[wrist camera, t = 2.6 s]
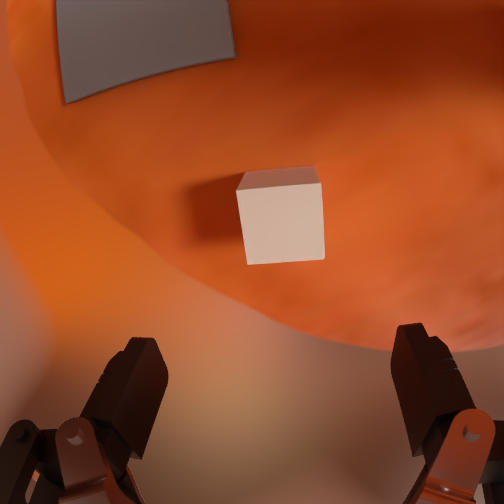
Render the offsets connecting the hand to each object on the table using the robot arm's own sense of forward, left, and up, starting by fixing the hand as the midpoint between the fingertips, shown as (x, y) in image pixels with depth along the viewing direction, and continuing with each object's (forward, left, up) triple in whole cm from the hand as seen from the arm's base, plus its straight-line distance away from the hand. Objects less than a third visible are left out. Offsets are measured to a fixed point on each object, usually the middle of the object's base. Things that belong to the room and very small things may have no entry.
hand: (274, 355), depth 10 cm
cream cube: (0, 0, -16) cm, 16 cm away
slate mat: (+9, -20, -16) cm, 27 cm away
